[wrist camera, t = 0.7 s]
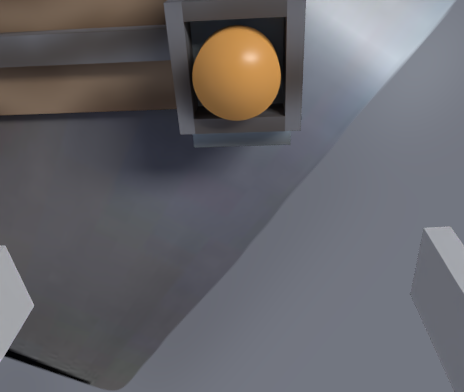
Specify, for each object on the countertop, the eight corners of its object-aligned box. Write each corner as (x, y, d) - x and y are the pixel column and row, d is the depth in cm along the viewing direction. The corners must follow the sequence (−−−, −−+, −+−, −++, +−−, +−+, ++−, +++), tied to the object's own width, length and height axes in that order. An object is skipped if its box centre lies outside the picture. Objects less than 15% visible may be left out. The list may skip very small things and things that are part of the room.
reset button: (192, 26, 24) (187, 33, 22) (278, 22, 23) (281, 29, 21) (200, 109, 26) (196, 122, 24) (278, 106, 26) (280, 119, 24)
